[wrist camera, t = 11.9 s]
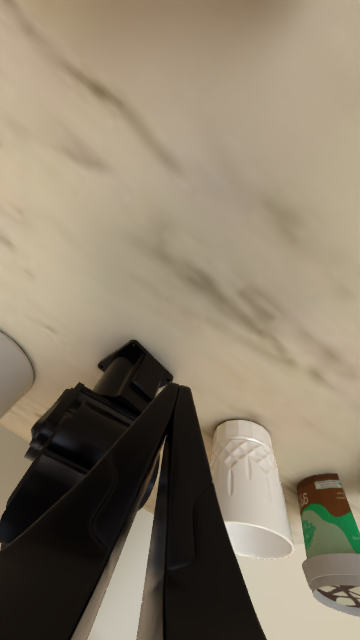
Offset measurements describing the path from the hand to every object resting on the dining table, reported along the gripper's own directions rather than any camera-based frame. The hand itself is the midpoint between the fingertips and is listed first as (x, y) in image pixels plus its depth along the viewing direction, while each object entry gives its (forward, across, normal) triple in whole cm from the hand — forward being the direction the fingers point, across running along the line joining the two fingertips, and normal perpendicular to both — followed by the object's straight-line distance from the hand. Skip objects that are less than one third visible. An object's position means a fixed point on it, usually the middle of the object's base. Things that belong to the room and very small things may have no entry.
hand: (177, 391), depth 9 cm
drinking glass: (+12, -10, +19) cm, 24 cm away
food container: (+12, -22, +26) cm, 37 cm away
